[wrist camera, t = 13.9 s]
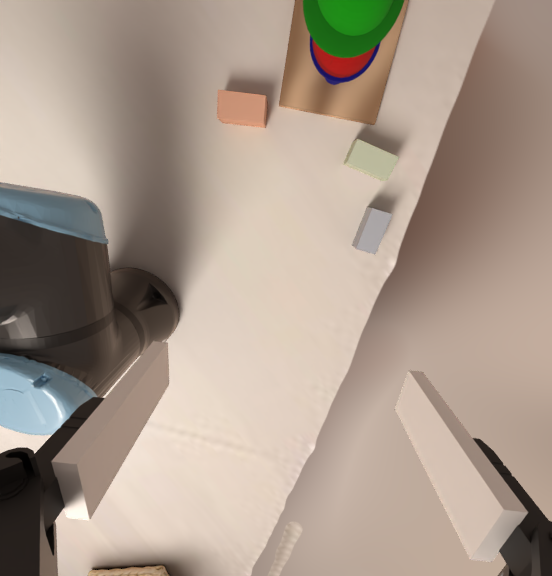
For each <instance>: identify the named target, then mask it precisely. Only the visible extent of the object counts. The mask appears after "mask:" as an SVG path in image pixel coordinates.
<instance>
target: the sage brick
mask: <svg viewBox="0 0 552 576" xmlns="http://www.w3.org/2000/svg"><path fill="white" fill-rule="evenodd" d="M398 158H399V157H398V156H395V155H393V154H391V153H389V152H386V151H384V150H382V149H380V148H377V147H375V146H373V145H371V144H368V143H366V142H364V141H362V140H359V139H356V140H355V141H354V142H353V143H352V145H351V147H350V150H349V152H348V154H347V157H346V159H345V161H344V164H343V165H345V166H348V167H350V168H352V169H355V170H357V171H359V172H362V173H364V174H366V175H369V176H371V177H373V178H376V179H378V180H380V181H385V180H388V178H389V176H390V174H391V172H392V170H393V168H394V166H395V164H396V162H397V160H398Z"/></svg>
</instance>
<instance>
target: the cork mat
mask: <svg viewBox="0 0 552 576" xmlns="http://www.w3.org/2000/svg"><path fill="white" fill-rule="evenodd" d="M408 1H409V0H404V3H403V6H402V9H401V12H400V14H399V16H398V18H397V20H396V22H395V24H394V25H393V27H392V28H391V30H390V31H389V33H388V34H387V35H386V36H385V37H384V39H383V40H382V41H381V43H380V46H379V50H378V52H377V54H376V57H375V59H374V60H373V62H372V63H371V65H370V66H369V68H368V69H367V70H366V71H365V72H364V73H363V74H362V75H360V76H359V77H357V78H356V79H354V80H351V81H349V82H344V83H339V84H337V85H332V84H330V83H328V82H327V81H326V80H325V77H323V76H322V75H321V74H320V73H319V72H318V70H317V69H316V67H315V65H314V63H313V61H312V58H311V53H310V33H309V31H308V30H307V26H306V22H305V18H304V13H303V0H295V5H294V12H293V18H292V24H291V31H290V37H289V44H288V50H287V56H286V63H285V69H284V76H283V82H282V89H281V95H280V101H279V106H281V107H286V108H291V109H296V110H301V111H306V112H311V113H316V114H321V115H326V116H331V117H336V118H341V119H346V120H351V121H356V122H361V123H366V124H371V125H374V124H375V122H376V118H377V114H378V111H379V107H380V103H381V100H382V96H383V92H384V89H385V85H386V82H387V78H388V74H389V71H390V67H391V63H392V60H393V56H394V52H395V49H396V45H397V41H398V38H399V34H400V30H401V27H402V23H403V19H404V16H405V12H406V8H407V5H408Z"/></svg>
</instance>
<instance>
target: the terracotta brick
mask: <svg viewBox="0 0 552 576" xmlns="http://www.w3.org/2000/svg"><path fill="white" fill-rule="evenodd" d="M267 104H268V102H267V98H266V95H258V94H250V93H241V92H233V91H224V90H218V108H217V118H218V119H219V120H220V121H221V122H222V123H229V124H238V125H246V126H254V127H263V128H266V116H267Z"/></svg>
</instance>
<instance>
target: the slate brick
mask: <svg viewBox="0 0 552 576" xmlns="http://www.w3.org/2000/svg"><path fill="white" fill-rule="evenodd" d="M392 215H393V214H390V213H387V212H383V211H380V210H377V209H374V208H370V207H367V208H366V211H365V213H364V216H363V218H362V221H361V223H360V226H359V229H358V231H357V234H356V236H355V239H354V241H353V244H352V246H354V247H355V248H356V249H358V250H362V251H365V252H368V253H372V254H376V252H377V249H378V247H379V245H380V242H381V240H382V238H383V235H384V233H385V231H386V229H387V226H388V224H389V222H390V219H391V217H392Z"/></svg>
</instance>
